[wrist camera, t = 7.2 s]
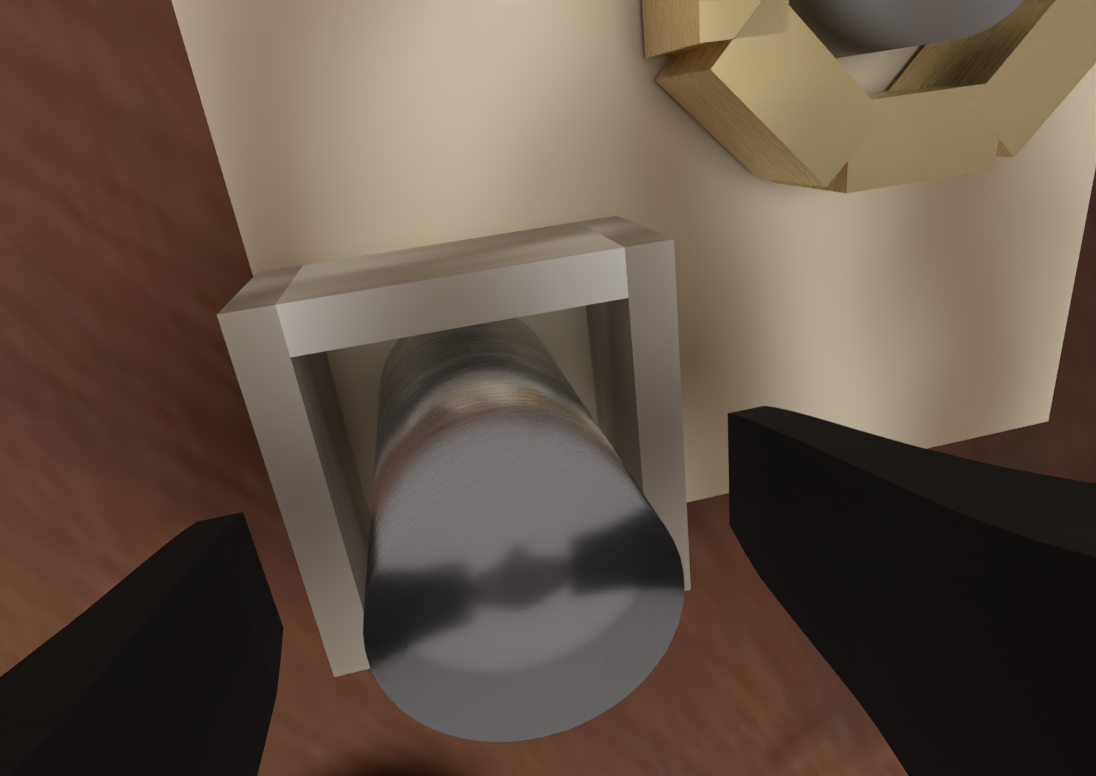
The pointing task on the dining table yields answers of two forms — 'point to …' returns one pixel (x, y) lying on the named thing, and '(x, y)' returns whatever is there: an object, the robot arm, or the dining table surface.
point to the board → (603, 246)
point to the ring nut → (844, 107)
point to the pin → (506, 544)
